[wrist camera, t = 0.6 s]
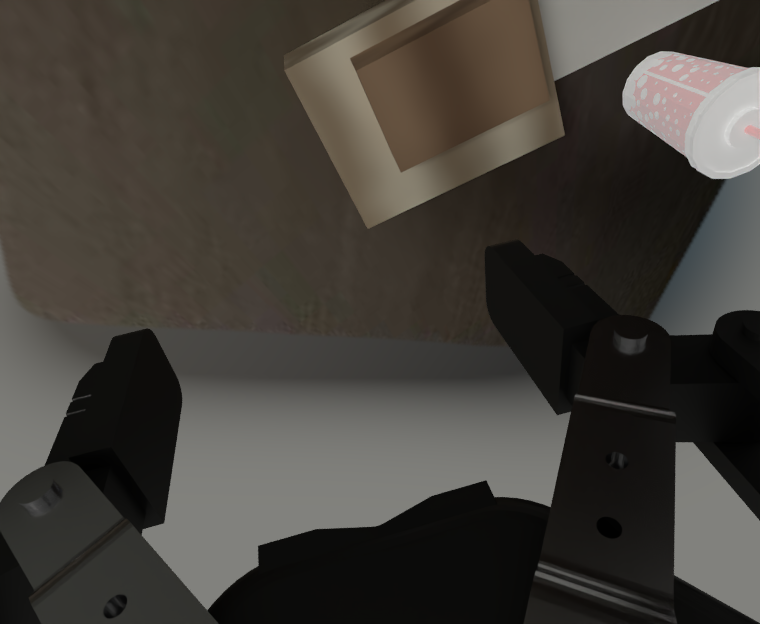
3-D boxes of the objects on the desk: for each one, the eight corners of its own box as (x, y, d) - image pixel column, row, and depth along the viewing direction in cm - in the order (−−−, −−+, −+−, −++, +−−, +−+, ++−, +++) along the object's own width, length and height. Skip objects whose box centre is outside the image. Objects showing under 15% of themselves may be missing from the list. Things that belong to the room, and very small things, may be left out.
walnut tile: (503, -23, 27) (524, -18, 24) (528, 86, 30) (549, 100, 28) (349, 58, 28) (356, 70, 26) (391, 153, 32) (400, 172, 29)
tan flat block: (499, -61, 29) (526, -59, 26) (539, 116, 36) (564, 135, 33) (284, 55, 31) (284, 70, 28) (360, 203, 38) (367, 228, 34)
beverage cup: (643, 147, 38) (787, 237, 27) (594, 98, 36) (734, 178, 25) (713, 75, 36) (903, 143, 25) (667, 17, 33) (859, 65, 22)
